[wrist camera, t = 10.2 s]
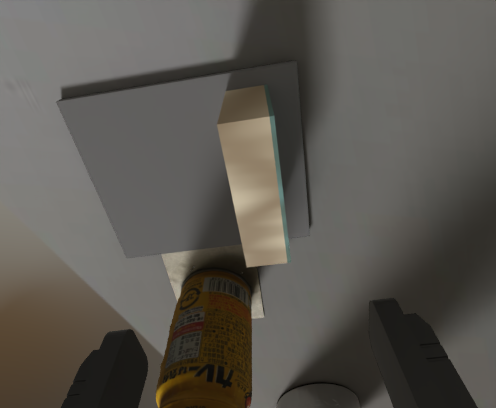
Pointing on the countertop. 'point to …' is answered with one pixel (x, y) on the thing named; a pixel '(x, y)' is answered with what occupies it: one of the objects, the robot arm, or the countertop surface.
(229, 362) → the condiment
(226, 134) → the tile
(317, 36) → the countertop surface
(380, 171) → the countertop surface
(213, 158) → the mat
